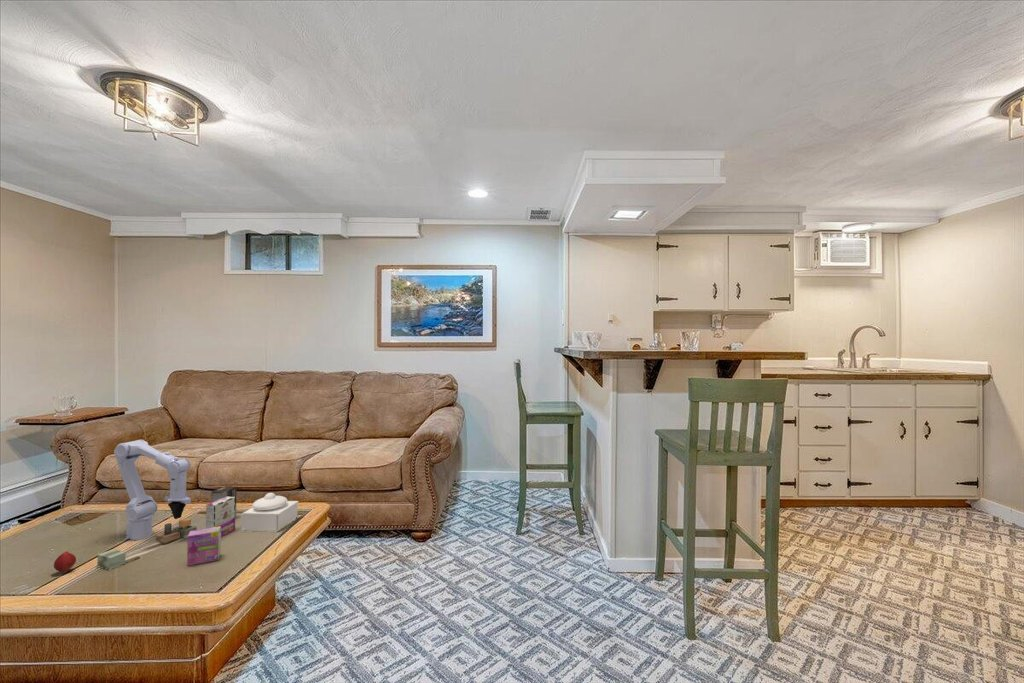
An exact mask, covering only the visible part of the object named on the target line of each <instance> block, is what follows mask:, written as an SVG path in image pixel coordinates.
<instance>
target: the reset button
mask: <svg viewBox="0 0 1024 683" xmlns="http://www.w3.org/2000/svg"><path fill="white" fill-rule="evenodd" d="M188 525H190V526H192V519H191V518H184V519H180V520H178V527H179V526H180V527H183V530H184V529H187V526H188Z"/></svg>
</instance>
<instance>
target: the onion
mask: <svg viewBox="0 0 1024 683" xmlns="http://www.w3.org/2000/svg"><path fill="white" fill-rule="evenodd" d="M76 561H77V557H76V556H75V554H74V553H71V552H69V550H65V551H63V553H61V554H59V556H57V558H56V559H55V560H54V561H53V562H54V563H53V568H54V569H55V570H56V571H58V572H61V573H67V572H68V571H70V569H71V568H73V567H74V566H75V564H76ZM66 571H67V572H66Z"/></svg>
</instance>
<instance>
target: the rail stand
mask: <svg viewBox="0 0 1024 683" xmlns="http://www.w3.org/2000/svg"><path fill="white" fill-rule="evenodd" d="M172 530H173V531H177V532H180V538H177V539H174V540H172V541H169V542H166V543H162V542H158V541H156V542H155V543H152V544H150V545H147V546H144V547H142V548H138V549H135V550H132V551H130V552H127V553H126V552H125V551H121V550H118V549H114V548H113V549H110V550H107V551H104V552H101V553H99V554H97V562H96V563H97V567H98V566H100V567H99V568H101V567H103V568H102V569H105V568H107V569H106V570H108V569H111V570H113V569H116V568H119V567H121V566H124V565H126V564H127V563H126V562H128V563H130V562H133V561H135V559H136V560H138V559H141V558H140V557H141V556H142V555H143V556H144V554H148V553H151V552H153V551H156V550H157V549H161V548H164V547H166V546H169V545H172V544H174V543H176V542H179V541H183V540H186V539H188V534H189V533H190V531H194V530H198V529H197V526H194V525H188V526H187V529H184V530H183V527H180V526H179V525H178V526H177V527H173V528H172ZM132 560H133V561H132ZM129 561H130V562H129ZM123 564H124V565H123ZM120 565H121V566H120ZM118 566H119V567H118ZM115 567H116V568H115ZM112 568H113V569H112Z"/></svg>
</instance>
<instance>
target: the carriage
mask: <svg viewBox="0 0 1024 683" xmlns="http://www.w3.org/2000/svg"><path fill="white" fill-rule="evenodd" d="M163 530H164V532H162V533H158V534H155V542H162V543H166V542H169V541H172V540H174V539H177V538H180V532H177V531H173V529H172V523H171V522H169V523H166V524H164V529H163Z"/></svg>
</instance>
